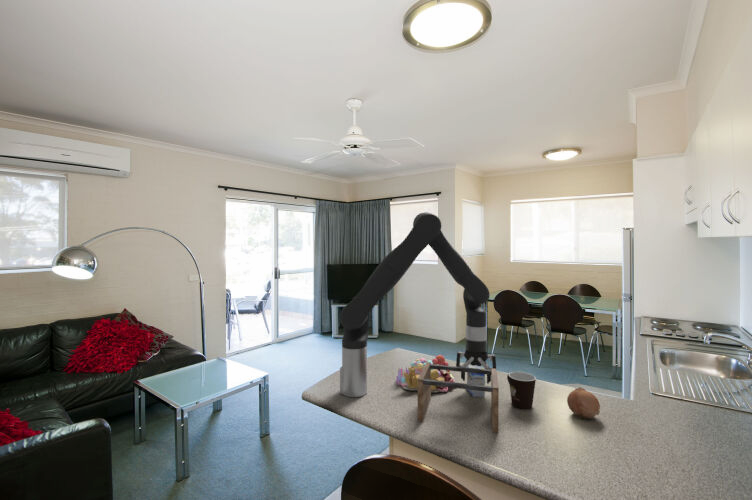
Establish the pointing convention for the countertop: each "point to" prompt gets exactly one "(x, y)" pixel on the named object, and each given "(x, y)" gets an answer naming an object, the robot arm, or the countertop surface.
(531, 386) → the coffee mug
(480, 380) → the medicine box
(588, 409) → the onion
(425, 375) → the frame
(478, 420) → the countertop surface
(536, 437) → the countertop surface
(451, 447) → the countertop surface
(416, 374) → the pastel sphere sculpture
